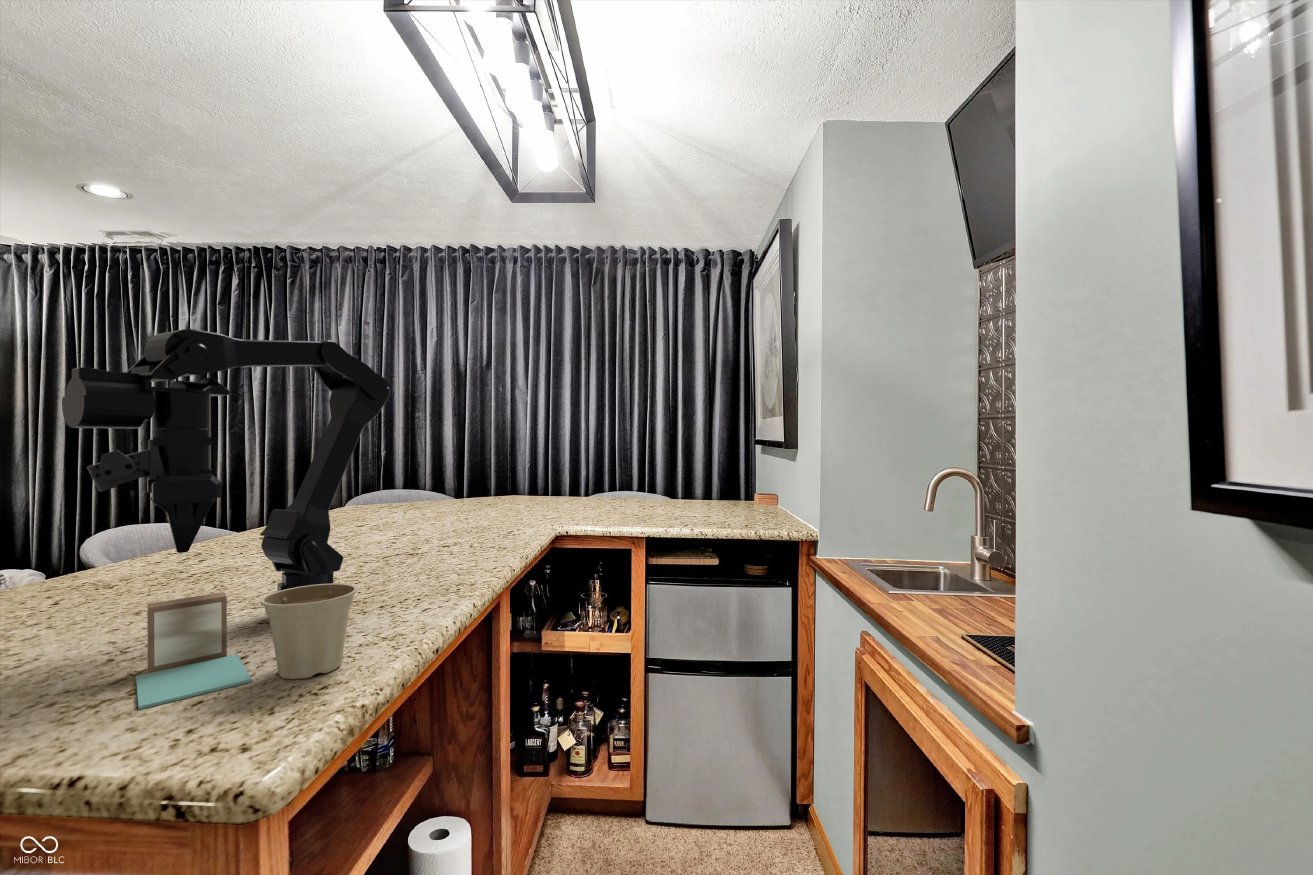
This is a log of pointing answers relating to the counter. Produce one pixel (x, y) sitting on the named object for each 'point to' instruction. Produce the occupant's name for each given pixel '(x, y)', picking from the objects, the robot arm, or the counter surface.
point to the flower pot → (309, 627)
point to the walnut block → (186, 631)
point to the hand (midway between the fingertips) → (182, 552)
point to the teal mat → (190, 680)
